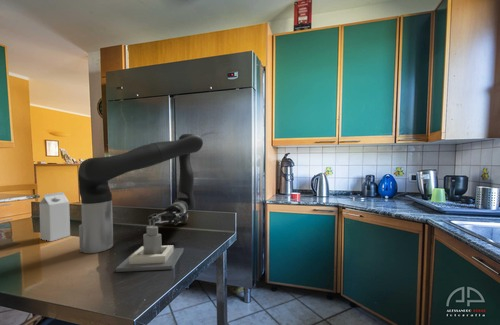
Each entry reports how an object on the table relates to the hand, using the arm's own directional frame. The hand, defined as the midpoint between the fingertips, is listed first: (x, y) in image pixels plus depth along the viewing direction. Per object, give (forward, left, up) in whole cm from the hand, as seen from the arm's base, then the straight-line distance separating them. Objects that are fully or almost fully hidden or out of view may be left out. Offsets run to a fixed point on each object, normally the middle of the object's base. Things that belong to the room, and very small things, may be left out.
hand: (162, 222), depth 80 cm
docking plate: (0, -10, -9) cm, 14 cm away
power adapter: (0, -10, -8) cm, 13 cm away
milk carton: (-50, +16, -9) cm, 53 cm away
